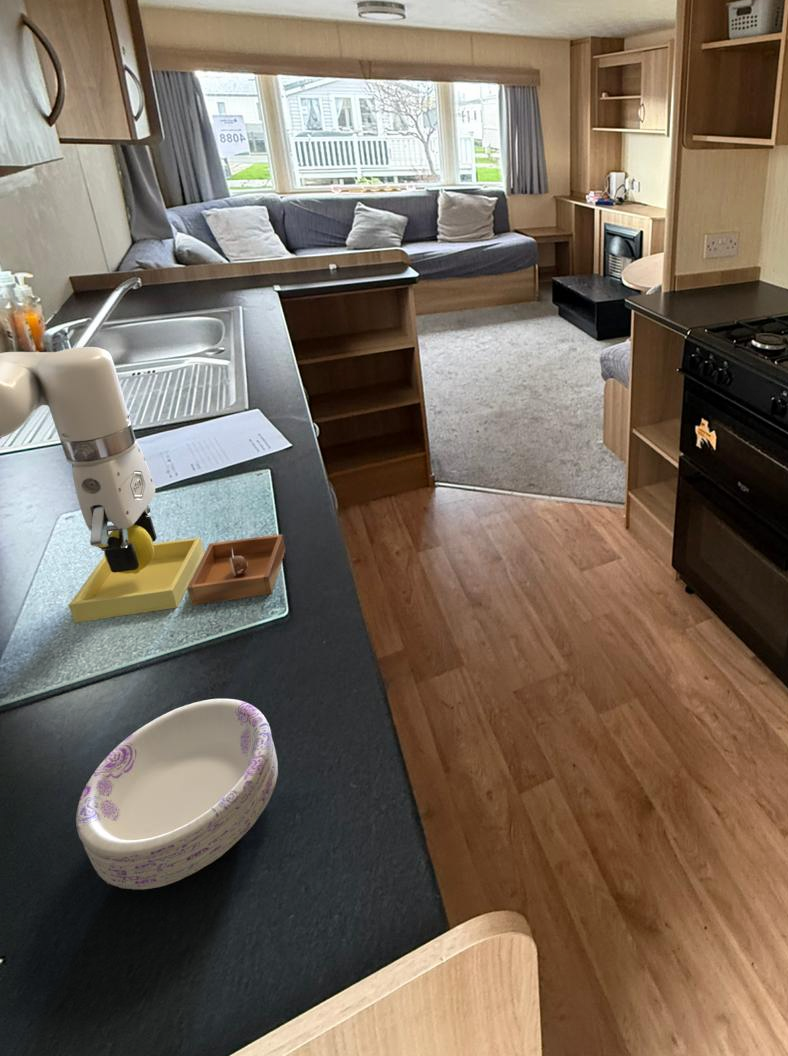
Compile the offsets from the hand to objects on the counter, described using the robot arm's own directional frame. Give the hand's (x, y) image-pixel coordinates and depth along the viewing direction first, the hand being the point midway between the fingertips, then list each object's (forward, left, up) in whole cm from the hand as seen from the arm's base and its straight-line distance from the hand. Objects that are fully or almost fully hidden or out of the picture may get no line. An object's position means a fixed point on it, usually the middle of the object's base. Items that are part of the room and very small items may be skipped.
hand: (135, 554), depth 91 cm
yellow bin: (0, 0, -5) cm, 5 cm away
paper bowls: (+18, -39, -6) cm, 43 cm away
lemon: (-1, 0, -3) cm, 3 cm away
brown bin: (+13, -1, -5) cm, 14 cm away
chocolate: (+13, -1, -5) cm, 14 cm away
